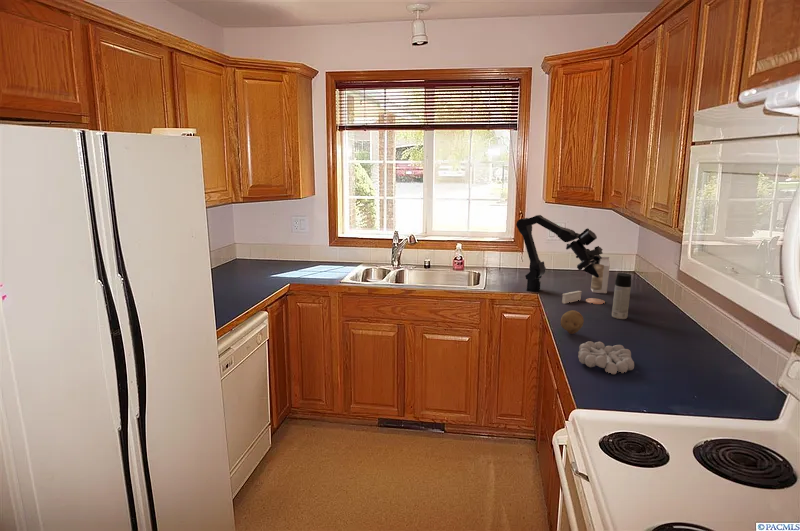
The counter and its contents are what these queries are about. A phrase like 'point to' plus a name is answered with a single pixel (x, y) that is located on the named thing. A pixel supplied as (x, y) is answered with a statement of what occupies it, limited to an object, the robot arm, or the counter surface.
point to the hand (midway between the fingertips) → (600, 276)
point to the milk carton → (604, 275)
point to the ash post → (596, 281)
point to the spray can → (621, 296)
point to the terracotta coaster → (595, 301)
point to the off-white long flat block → (571, 296)
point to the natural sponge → (572, 321)
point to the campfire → (606, 357)
